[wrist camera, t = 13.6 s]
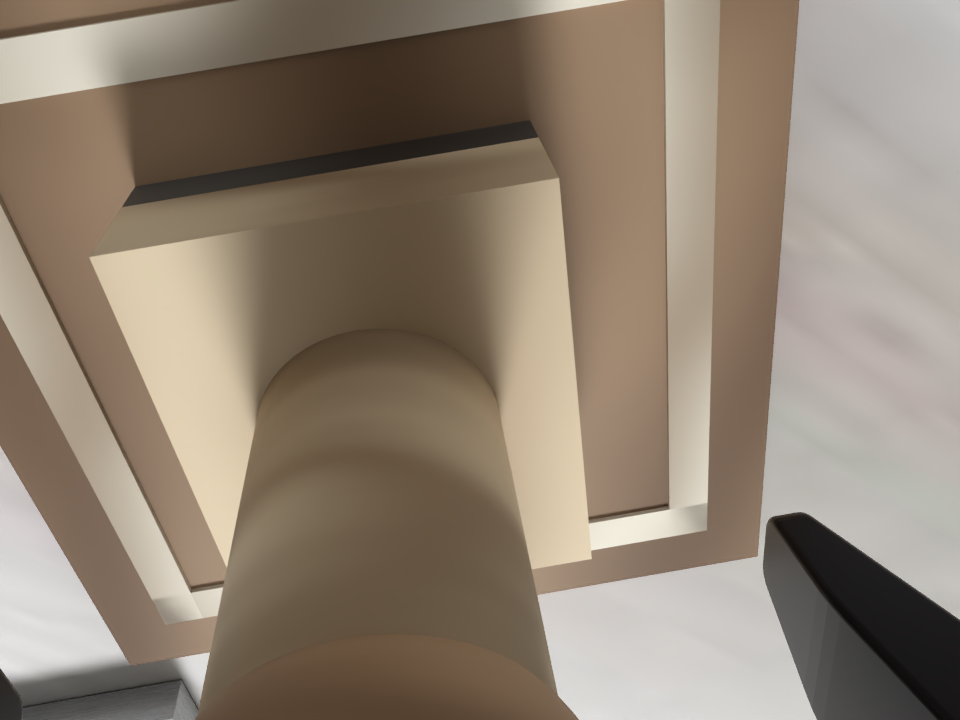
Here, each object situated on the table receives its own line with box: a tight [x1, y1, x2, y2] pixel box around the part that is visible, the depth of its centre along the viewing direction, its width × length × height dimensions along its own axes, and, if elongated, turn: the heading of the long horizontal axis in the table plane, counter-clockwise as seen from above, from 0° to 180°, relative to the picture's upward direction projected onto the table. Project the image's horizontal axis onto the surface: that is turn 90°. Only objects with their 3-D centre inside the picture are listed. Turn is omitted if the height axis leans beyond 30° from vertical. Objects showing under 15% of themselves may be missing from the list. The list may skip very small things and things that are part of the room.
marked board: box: [0, 0, 799, 666], centre depth 15 cm, size 14×14×1 cm
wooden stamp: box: [89, 120, 592, 720], centre depth 10 cm, size 6×7×11 cm
